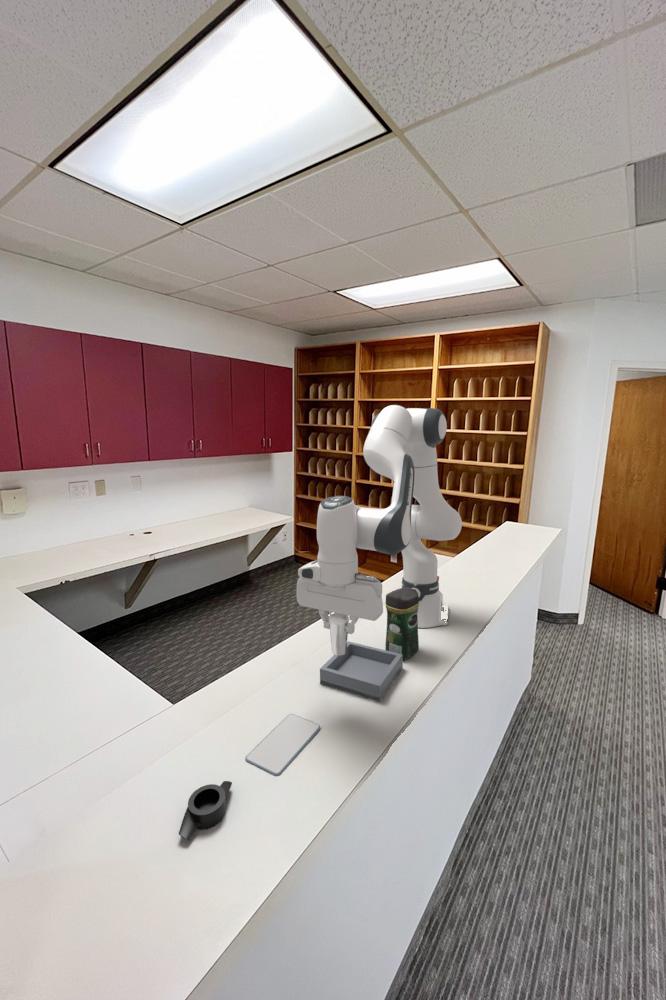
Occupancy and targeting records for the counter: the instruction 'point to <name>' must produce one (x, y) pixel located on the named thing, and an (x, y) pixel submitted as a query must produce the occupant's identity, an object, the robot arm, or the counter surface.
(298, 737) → the smartphone
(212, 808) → the black wing nut
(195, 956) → the counter surface
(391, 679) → the tray
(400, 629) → the coffee jar
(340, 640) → the milkshake
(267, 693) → the counter surface
